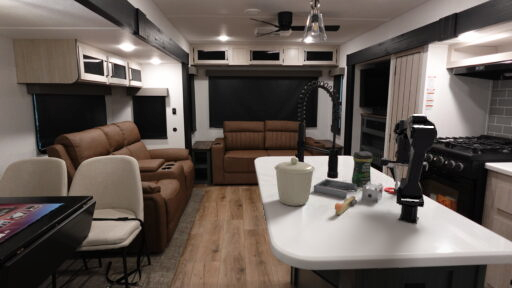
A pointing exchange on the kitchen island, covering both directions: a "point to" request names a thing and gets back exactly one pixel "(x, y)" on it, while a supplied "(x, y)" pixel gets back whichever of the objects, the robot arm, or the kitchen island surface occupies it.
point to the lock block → (372, 192)
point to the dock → (325, 190)
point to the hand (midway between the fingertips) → (401, 182)
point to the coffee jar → (361, 168)
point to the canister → (294, 181)
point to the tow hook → (395, 185)
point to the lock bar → (343, 205)
